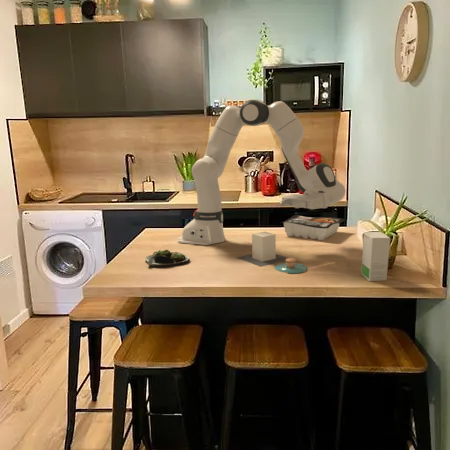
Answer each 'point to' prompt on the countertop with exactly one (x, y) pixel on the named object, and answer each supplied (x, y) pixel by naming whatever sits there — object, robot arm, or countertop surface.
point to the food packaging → (312, 226)
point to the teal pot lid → (291, 267)
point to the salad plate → (167, 259)
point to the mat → (264, 263)
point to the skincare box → (375, 256)
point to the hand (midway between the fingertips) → (287, 205)
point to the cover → (263, 246)
